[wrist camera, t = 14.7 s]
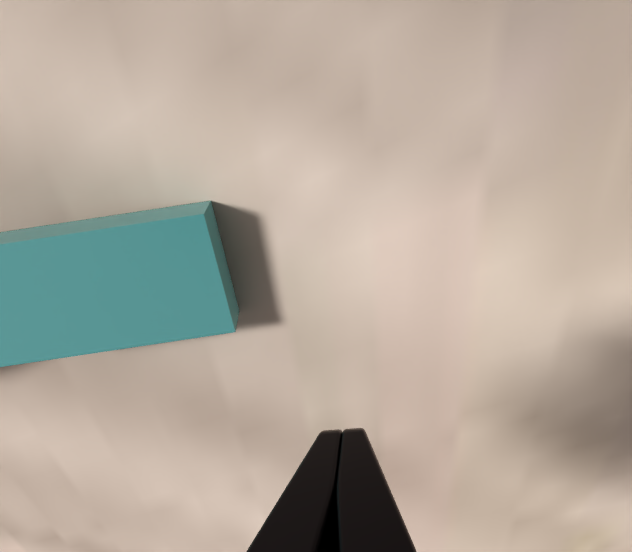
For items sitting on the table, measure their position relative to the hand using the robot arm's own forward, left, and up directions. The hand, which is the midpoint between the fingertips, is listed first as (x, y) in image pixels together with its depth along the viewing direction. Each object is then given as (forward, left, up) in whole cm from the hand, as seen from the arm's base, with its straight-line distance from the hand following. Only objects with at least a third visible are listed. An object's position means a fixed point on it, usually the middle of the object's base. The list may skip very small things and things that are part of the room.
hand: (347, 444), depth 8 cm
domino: (+5, 0, -9) cm, 10 cm away
